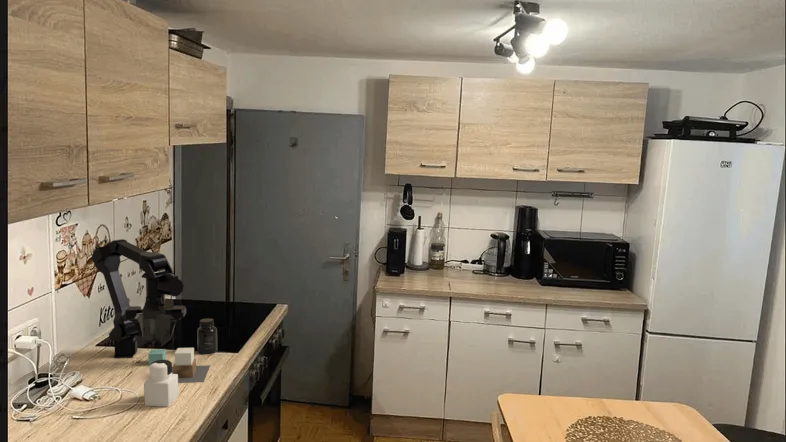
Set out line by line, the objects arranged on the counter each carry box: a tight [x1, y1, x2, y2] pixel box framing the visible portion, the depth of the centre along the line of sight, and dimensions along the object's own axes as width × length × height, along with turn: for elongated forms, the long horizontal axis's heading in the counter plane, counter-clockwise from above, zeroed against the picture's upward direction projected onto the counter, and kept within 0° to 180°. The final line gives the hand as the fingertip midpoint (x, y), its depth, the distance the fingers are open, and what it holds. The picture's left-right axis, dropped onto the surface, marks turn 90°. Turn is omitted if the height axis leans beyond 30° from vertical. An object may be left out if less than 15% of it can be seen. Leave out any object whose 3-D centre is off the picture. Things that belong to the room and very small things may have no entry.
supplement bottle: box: [196, 318, 218, 356], centre depth 209 cm, size 7×7×12 cm
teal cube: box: [148, 348, 167, 367], centre depth 197 cm, size 4×4×4 cm
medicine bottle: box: [143, 359, 179, 408], centre depth 169 cm, size 7×7×12 cm
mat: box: [172, 365, 211, 384], centre depth 188 cm, size 14×14×1 cm
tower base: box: [172, 358, 197, 378], centre depth 188 cm, size 6×6×4 cm
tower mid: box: [174, 347, 195, 366], centre depth 188 cm, size 5×5×4 cm
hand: (156, 336), depth 196 cm, fingers open, 9 cm apart
